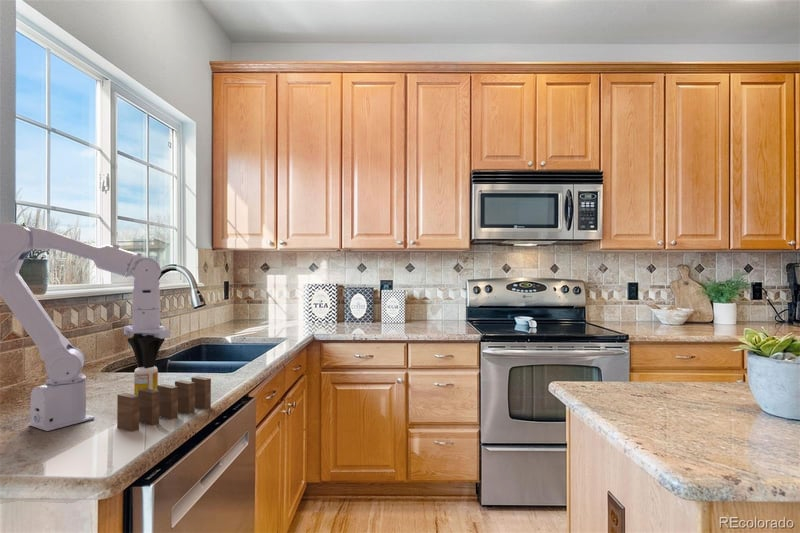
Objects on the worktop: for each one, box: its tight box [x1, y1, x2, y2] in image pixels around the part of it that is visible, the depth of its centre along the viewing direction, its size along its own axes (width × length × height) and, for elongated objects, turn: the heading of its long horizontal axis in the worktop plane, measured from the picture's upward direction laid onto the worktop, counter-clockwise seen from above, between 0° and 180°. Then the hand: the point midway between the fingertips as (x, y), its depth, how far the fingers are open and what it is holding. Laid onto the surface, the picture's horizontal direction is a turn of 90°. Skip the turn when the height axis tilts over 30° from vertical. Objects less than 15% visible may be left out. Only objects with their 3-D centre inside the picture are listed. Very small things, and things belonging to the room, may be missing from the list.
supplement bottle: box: [133, 364, 159, 396], centre depth 124 cm, size 5×5×10 cm
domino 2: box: [138, 388, 160, 426], centre depth 104 cm, size 2×5×7 cm, turn 61°
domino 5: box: [190, 375, 212, 410], centre depth 116 cm, size 2×5×7 cm, turn 61°
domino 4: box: [174, 379, 196, 415], centre depth 112 cm, size 2×5×7 cm, turn 61°
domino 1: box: [116, 392, 140, 433], centre depth 100 cm, size 2×5×7 cm, turn 61°
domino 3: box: [157, 383, 179, 421], centre depth 108 cm, size 2×5×7 cm, turn 61°
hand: (146, 367), depth 112 cm, fingers closed
